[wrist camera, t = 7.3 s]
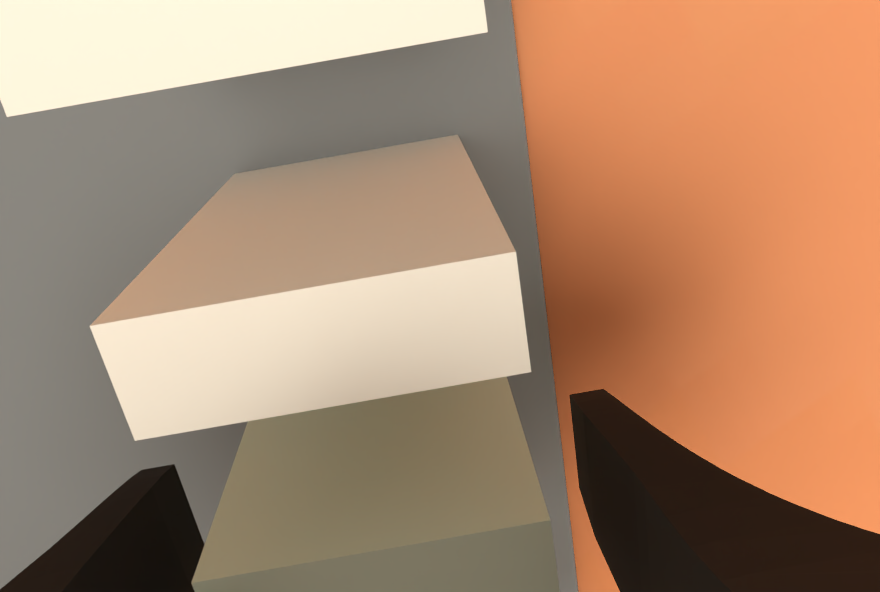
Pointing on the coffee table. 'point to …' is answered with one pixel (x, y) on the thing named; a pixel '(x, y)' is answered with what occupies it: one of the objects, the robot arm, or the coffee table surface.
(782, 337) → the coffee table surface
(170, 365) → the domino
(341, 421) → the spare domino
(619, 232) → the coffee table surface
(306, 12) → the domino
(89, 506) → the mat
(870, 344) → the coffee table surface
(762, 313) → the coffee table surface
